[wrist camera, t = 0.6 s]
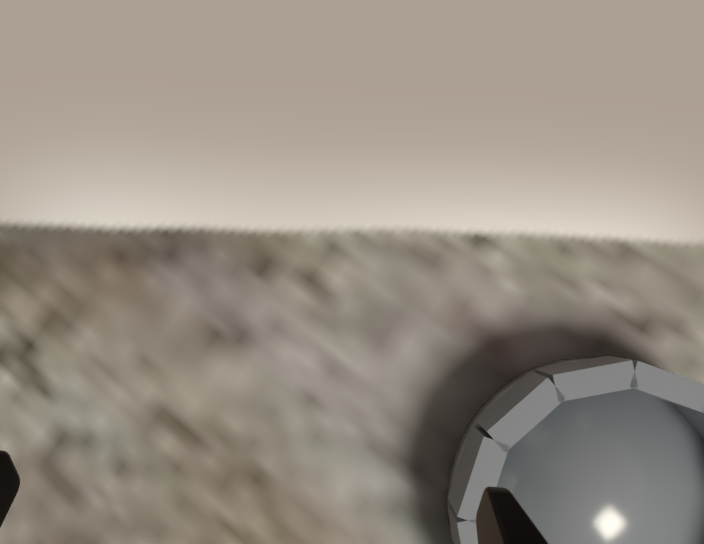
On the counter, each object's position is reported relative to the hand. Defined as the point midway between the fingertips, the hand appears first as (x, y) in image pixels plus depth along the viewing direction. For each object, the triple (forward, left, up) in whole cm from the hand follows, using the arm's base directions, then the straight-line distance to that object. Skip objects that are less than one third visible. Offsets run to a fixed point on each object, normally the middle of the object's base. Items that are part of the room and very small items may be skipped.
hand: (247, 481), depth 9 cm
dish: (-9, -13, -15) cm, 21 cm away
